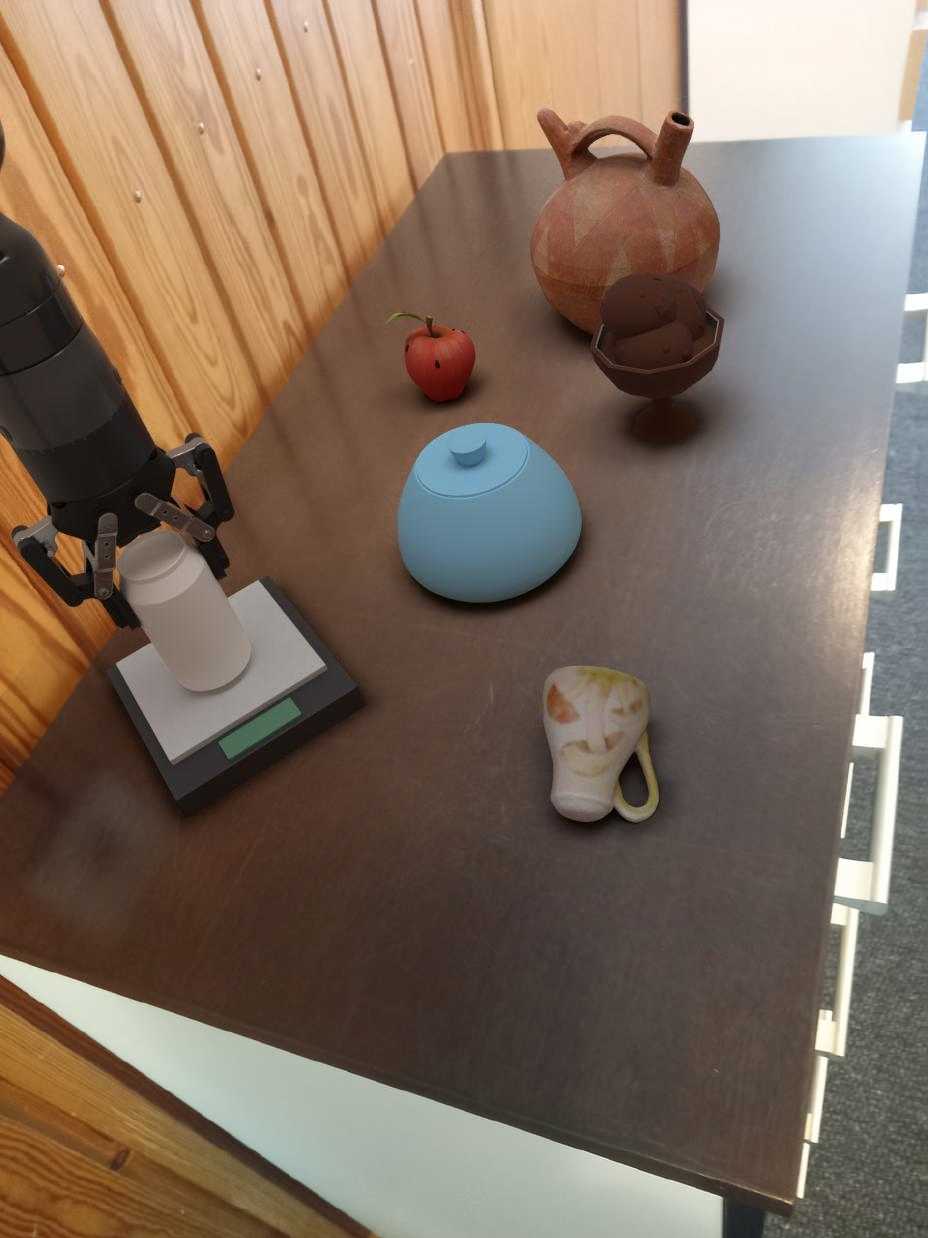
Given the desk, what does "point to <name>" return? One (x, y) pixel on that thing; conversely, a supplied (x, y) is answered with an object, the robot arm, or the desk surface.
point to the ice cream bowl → (657, 347)
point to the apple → (438, 359)
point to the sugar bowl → (486, 515)
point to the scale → (238, 702)
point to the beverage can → (183, 610)
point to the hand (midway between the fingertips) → (175, 597)
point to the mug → (596, 740)
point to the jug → (620, 214)
